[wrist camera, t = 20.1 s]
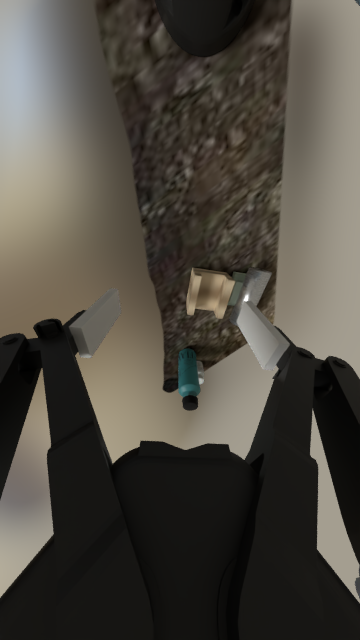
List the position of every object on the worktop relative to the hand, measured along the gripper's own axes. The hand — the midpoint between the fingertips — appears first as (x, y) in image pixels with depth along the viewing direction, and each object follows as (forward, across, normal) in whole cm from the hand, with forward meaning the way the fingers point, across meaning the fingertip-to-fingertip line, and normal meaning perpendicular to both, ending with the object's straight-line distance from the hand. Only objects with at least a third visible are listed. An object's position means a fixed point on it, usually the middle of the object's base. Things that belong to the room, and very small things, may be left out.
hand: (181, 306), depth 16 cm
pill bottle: (+26, +10, -38) cm, 47 cm away
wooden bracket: (+26, +8, -7) cm, 28 cm away
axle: (+20, +18, -7) cm, 28 cm away
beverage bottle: (+26, +6, -32) cm, 41 cm away
